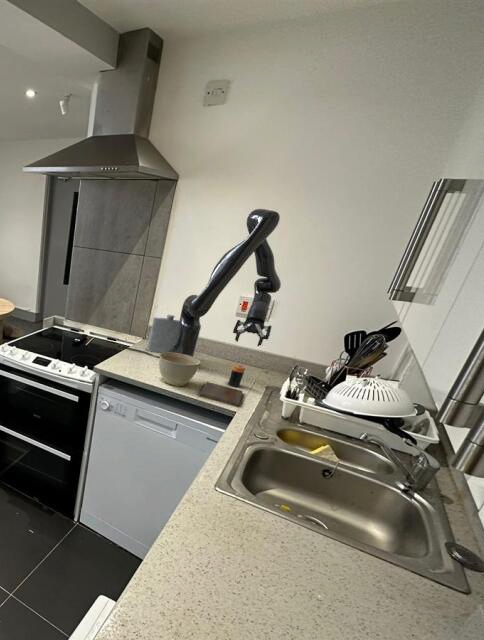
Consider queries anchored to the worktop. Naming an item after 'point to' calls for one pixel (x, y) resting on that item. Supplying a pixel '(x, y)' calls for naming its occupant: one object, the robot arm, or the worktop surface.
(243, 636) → the worktop surface
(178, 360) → the planter bowl
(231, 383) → the battery
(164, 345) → the hip flask
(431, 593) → the worktop surface
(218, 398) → the walnut board
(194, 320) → the robot arm
